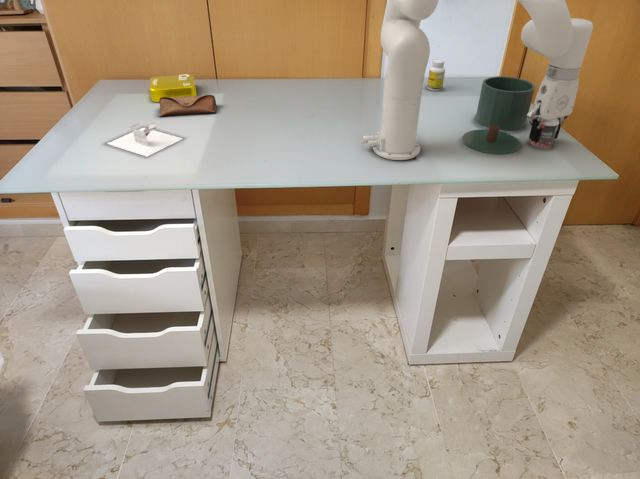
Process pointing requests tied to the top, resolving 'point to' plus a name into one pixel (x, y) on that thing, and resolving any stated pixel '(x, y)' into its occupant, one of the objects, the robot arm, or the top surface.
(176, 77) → the yellow plastic box
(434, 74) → the supplement bottle
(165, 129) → the top surface
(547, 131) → the pill bottle
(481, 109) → the tin
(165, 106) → the sunglasses case
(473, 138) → the lid
